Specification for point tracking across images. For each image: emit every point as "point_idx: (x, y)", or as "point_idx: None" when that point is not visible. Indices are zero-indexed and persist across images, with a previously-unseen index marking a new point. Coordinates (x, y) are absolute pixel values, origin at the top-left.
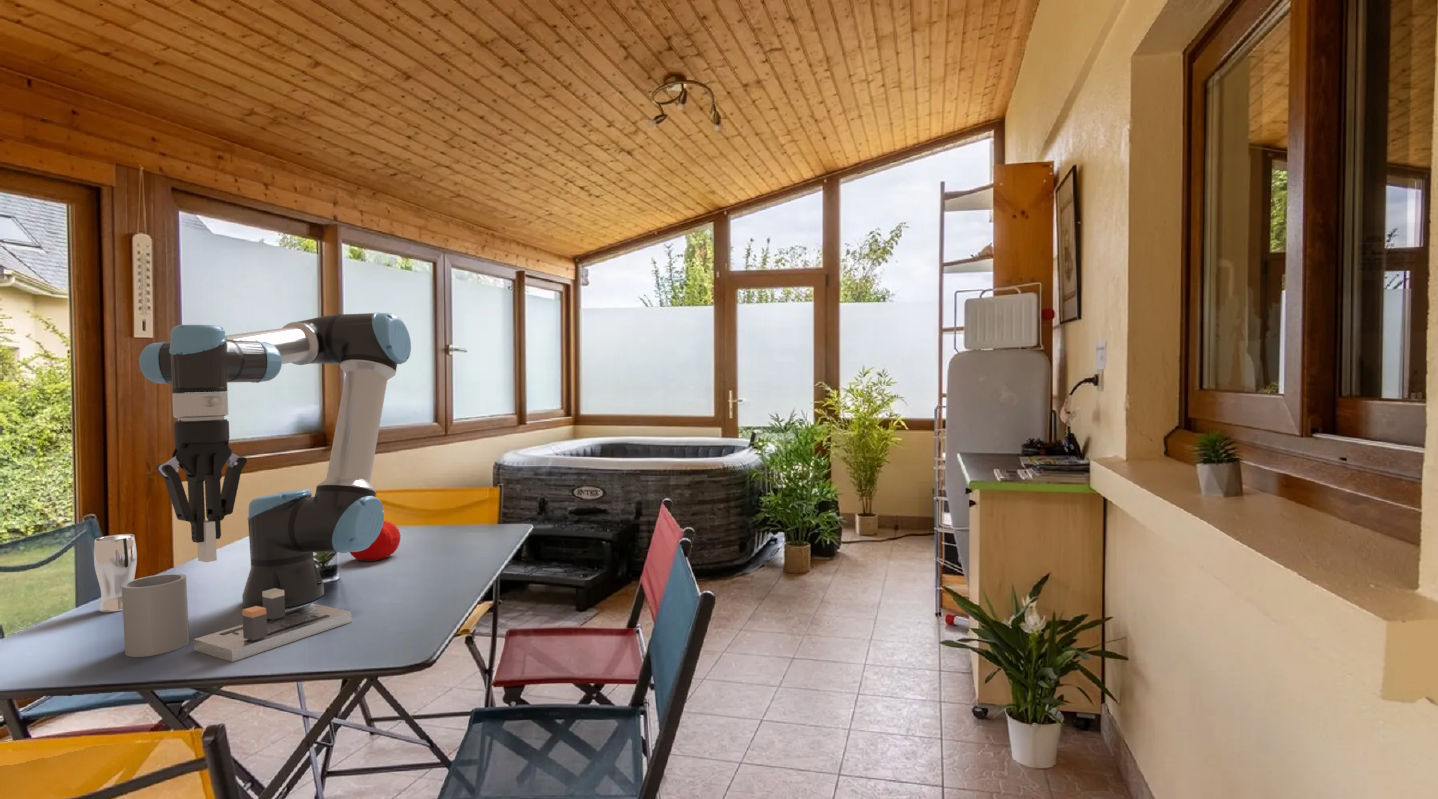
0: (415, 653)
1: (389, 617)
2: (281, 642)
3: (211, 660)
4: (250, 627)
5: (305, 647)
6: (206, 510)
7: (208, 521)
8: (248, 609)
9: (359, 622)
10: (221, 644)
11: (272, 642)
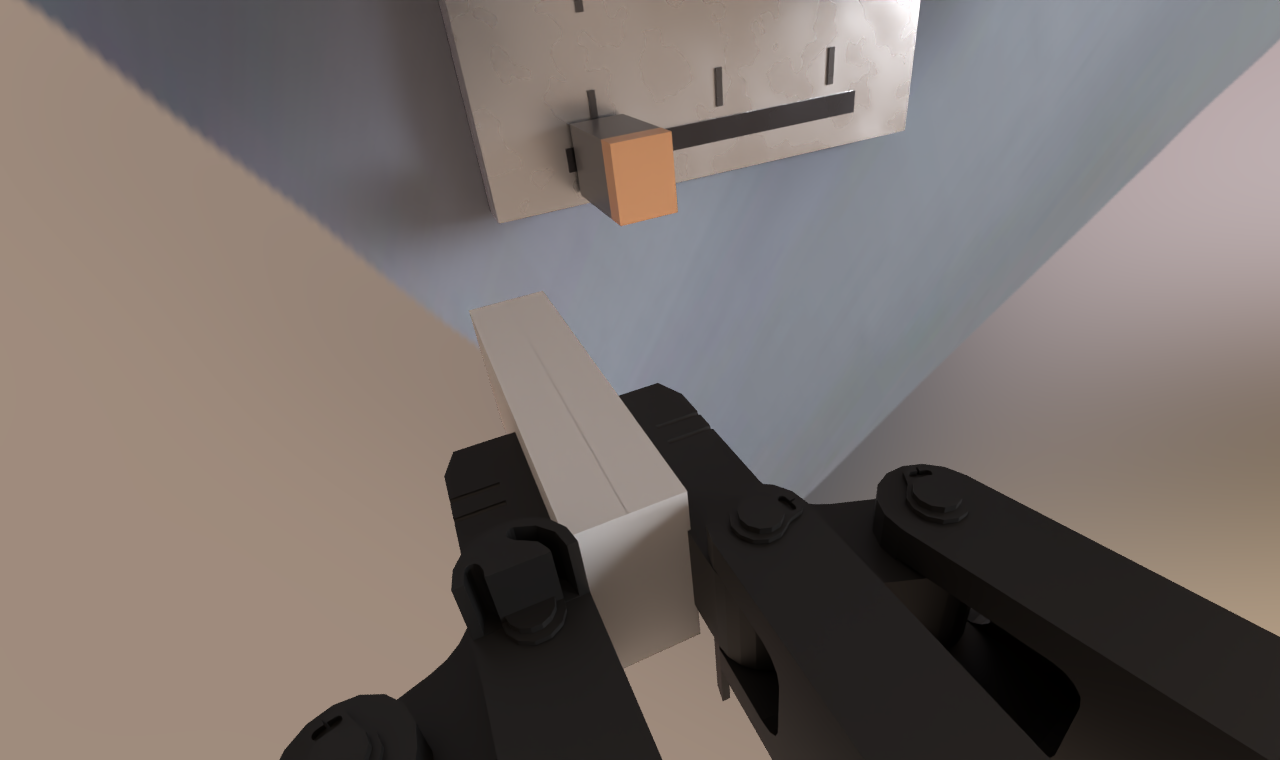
0: None
1: (937, 185)
2: None
3: (439, 120)
4: (594, 192)
5: (685, 258)
6: (760, 625)
7: (660, 603)
8: (627, 167)
9: (882, 153)
10: (490, 108)
11: None
